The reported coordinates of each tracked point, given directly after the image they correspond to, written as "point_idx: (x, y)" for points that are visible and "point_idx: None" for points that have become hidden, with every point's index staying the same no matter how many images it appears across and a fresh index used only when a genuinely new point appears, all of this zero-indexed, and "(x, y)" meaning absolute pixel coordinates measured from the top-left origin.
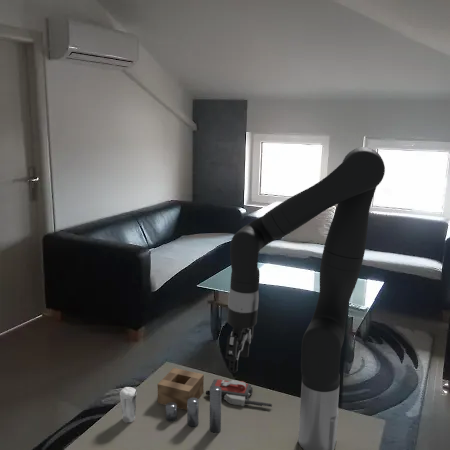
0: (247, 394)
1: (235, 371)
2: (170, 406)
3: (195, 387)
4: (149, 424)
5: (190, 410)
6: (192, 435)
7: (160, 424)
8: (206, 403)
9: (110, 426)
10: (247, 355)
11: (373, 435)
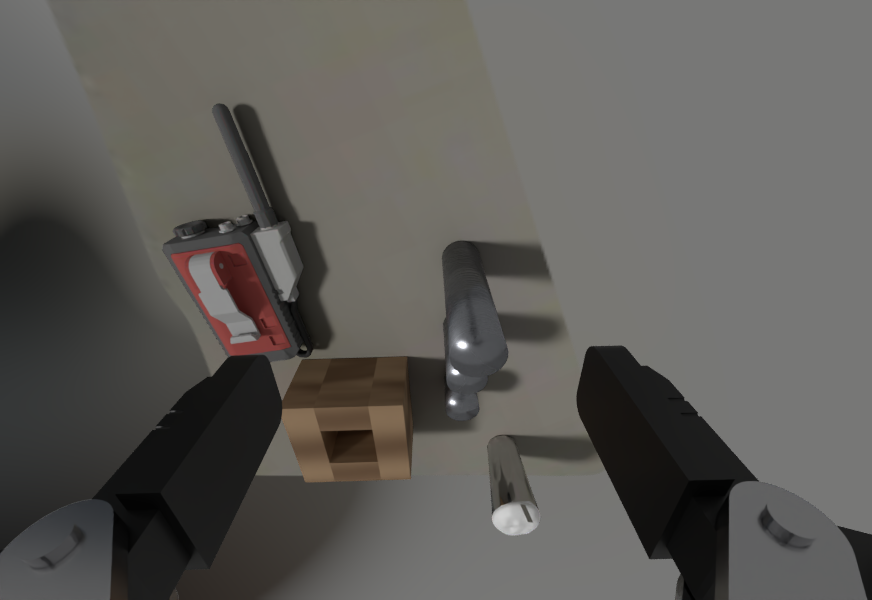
0: (231, 231)
1: (624, 358)
2: (468, 408)
3: (352, 396)
4: (503, 405)
5: None
6: (510, 304)
7: (493, 387)
8: (347, 331)
9: (537, 458)
10: (251, 370)
11: None
